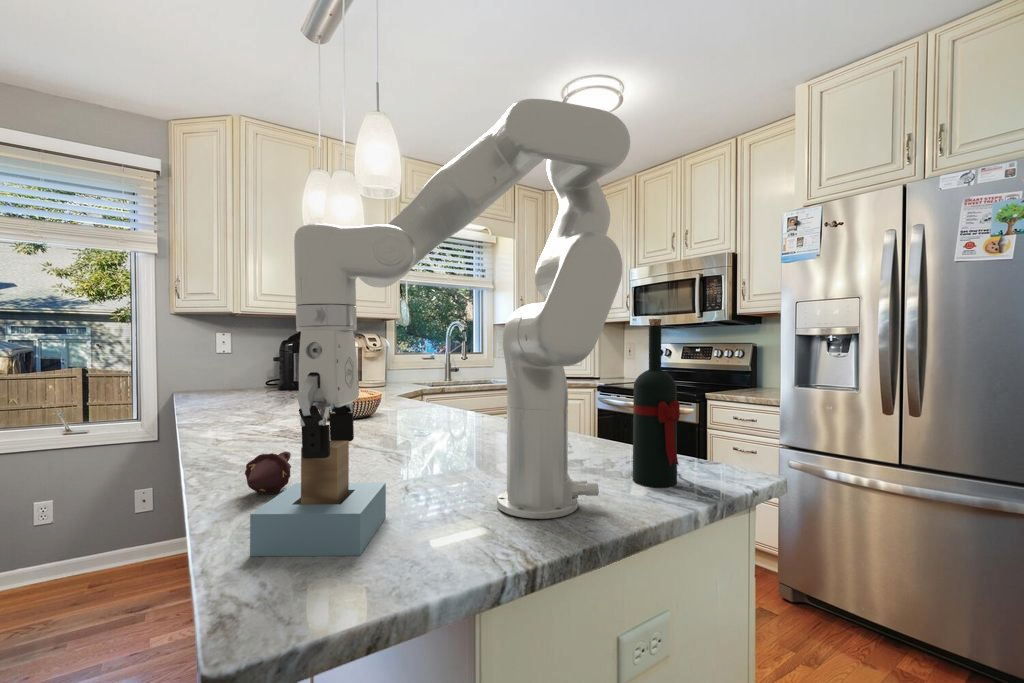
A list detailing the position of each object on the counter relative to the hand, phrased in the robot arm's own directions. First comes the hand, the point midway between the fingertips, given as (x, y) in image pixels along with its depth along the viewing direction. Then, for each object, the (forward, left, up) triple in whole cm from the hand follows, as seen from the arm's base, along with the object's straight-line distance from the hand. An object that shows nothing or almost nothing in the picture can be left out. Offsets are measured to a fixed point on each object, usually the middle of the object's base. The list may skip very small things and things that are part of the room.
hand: (330, 448), depth 65 cm
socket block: (+1, 0, -11) cm, 11 cm away
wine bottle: (-51, -23, -12) cm, 57 cm away
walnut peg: (+1, 0, -11) cm, 11 cm away
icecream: (+17, -18, -12) cm, 27 cm away
